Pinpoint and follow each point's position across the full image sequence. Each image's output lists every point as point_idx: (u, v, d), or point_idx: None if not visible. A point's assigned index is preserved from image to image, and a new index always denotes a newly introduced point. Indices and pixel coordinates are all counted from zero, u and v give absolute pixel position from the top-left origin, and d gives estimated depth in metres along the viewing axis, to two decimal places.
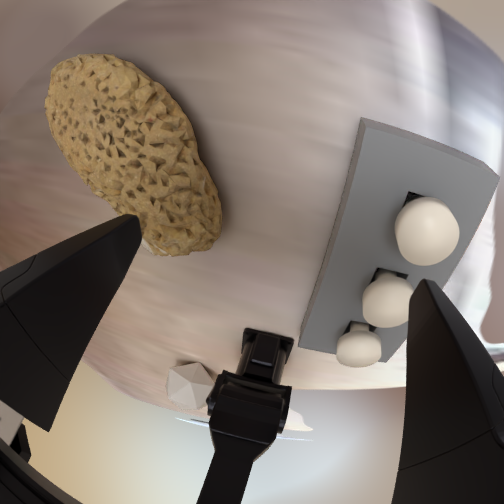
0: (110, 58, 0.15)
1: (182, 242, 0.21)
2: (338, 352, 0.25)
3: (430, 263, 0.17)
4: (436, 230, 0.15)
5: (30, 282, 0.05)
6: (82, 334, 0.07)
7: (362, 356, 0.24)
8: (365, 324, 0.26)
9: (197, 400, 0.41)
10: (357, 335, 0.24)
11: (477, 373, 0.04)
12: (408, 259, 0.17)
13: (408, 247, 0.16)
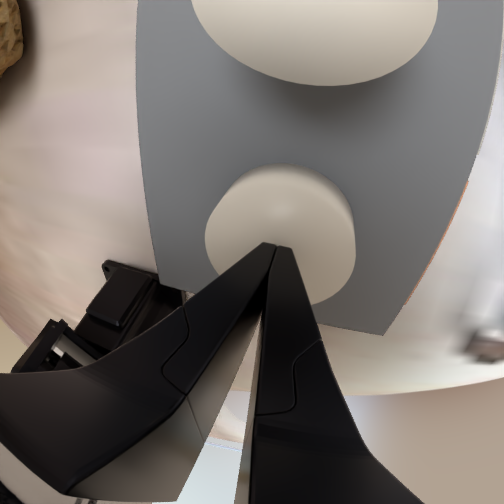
0: None
1: None
2: (207, 238, 0.08)
3: None
4: None
5: (205, 354, 0.04)
6: (226, 390, 0.06)
7: None
8: None
9: None
10: (259, 172, 0.08)
11: (273, 344, 0.05)
12: None
13: None
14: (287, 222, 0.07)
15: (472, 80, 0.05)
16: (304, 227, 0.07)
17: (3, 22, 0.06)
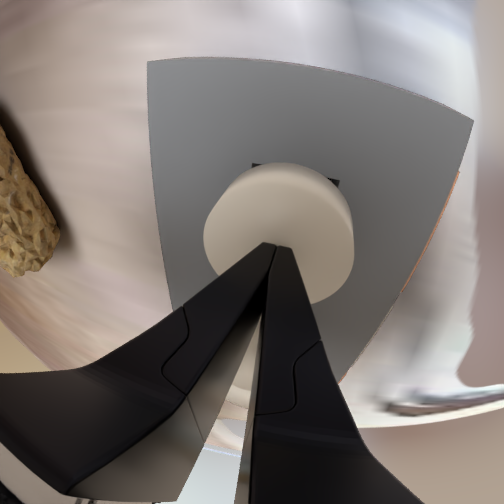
0: None
1: (9, 263, 0.15)
2: None
3: None
4: (286, 235, 0.08)
5: (205, 354, 0.04)
6: (226, 389, 0.06)
7: None
8: None
9: None
10: None
11: (274, 344, 0.05)
12: None
13: None
14: None
15: (346, 350, 0.15)
16: None
17: (41, 229, 0.16)
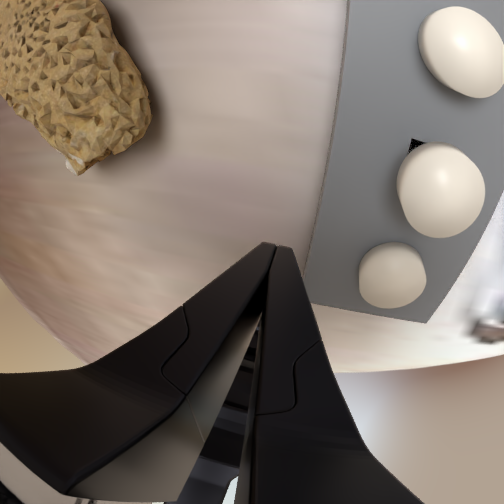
0: None
1: (90, 134, 0.13)
2: (362, 278, 0.16)
3: (482, 94, 0.08)
4: (476, 39, 0.06)
5: (205, 354, 0.04)
6: (226, 389, 0.06)
7: (399, 284, 0.16)
8: None
9: None
10: (389, 248, 0.16)
11: (274, 344, 0.05)
12: (451, 83, 0.08)
13: (446, 61, 0.08)
14: (401, 272, 0.15)
15: (486, 205, 0.12)
16: (408, 274, 0.15)
17: (141, 97, 0.14)
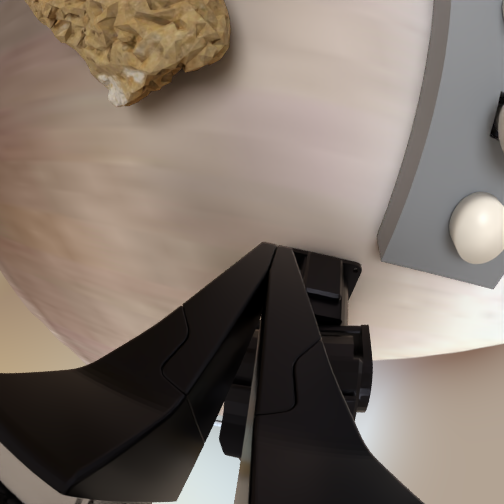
0: None
1: (166, 37, 0.10)
2: (461, 226, 0.13)
3: None
4: None
5: (205, 354, 0.04)
6: (226, 389, 0.06)
7: (490, 235, 0.13)
8: None
9: None
10: (482, 196, 0.12)
11: (274, 344, 0.05)
12: None
13: None
14: (494, 220, 0.12)
15: None
16: (499, 223, 0.12)
17: (226, 16, 0.11)
